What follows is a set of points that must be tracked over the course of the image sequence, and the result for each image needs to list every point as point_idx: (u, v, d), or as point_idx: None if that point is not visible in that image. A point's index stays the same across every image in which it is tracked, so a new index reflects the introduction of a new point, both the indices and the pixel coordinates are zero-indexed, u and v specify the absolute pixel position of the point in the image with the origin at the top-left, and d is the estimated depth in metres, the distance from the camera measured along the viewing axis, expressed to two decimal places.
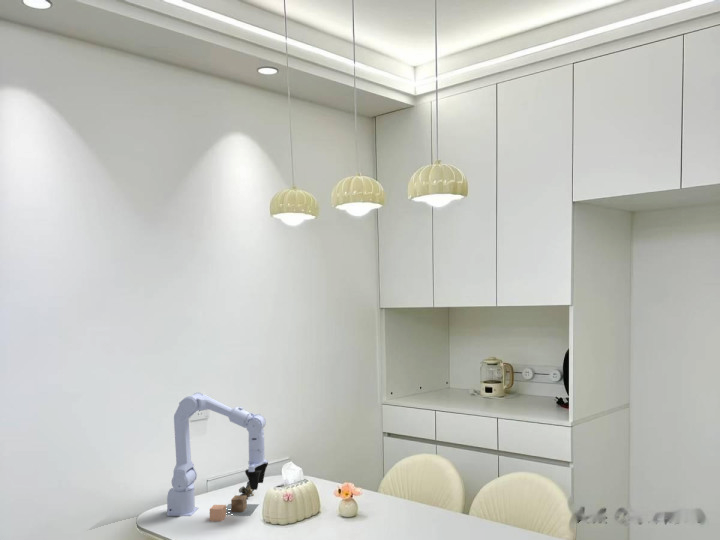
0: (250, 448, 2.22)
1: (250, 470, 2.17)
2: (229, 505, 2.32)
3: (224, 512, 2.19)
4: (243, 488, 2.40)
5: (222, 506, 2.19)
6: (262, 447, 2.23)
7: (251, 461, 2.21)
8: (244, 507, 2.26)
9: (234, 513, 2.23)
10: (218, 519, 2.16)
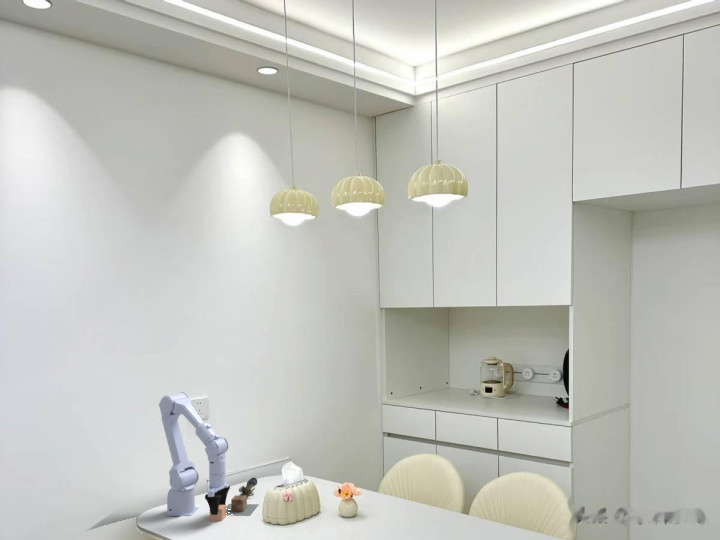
0: (209, 471, 2.18)
1: (209, 495, 2.12)
2: (229, 505, 2.32)
3: (224, 513, 2.19)
4: (243, 488, 2.41)
5: (222, 506, 2.19)
6: (220, 471, 2.17)
7: (211, 485, 2.17)
8: (244, 507, 2.26)
9: (234, 513, 2.23)
10: (218, 519, 2.16)
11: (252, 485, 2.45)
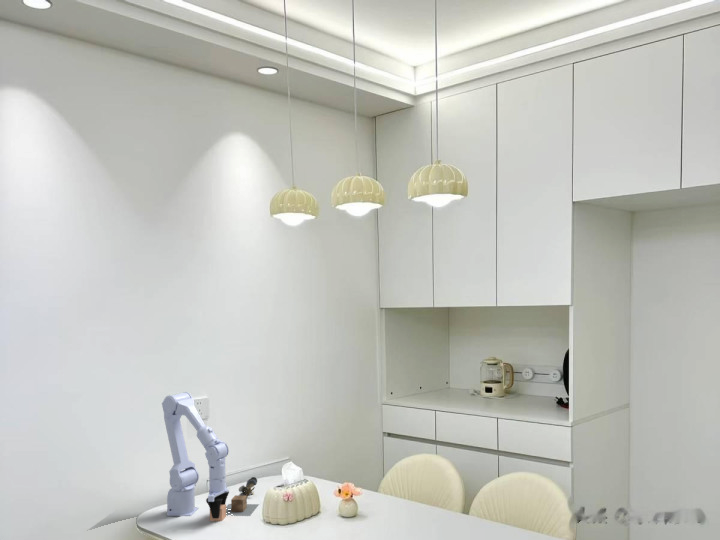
0: (209, 476, 2.18)
1: (209, 500, 2.12)
2: (229, 505, 2.32)
3: (224, 512, 2.19)
4: (243, 487, 2.41)
5: (222, 506, 2.19)
6: (220, 476, 2.17)
7: (211, 490, 2.17)
8: (244, 507, 2.26)
9: (234, 513, 2.23)
10: (218, 519, 2.16)
11: (252, 484, 2.46)
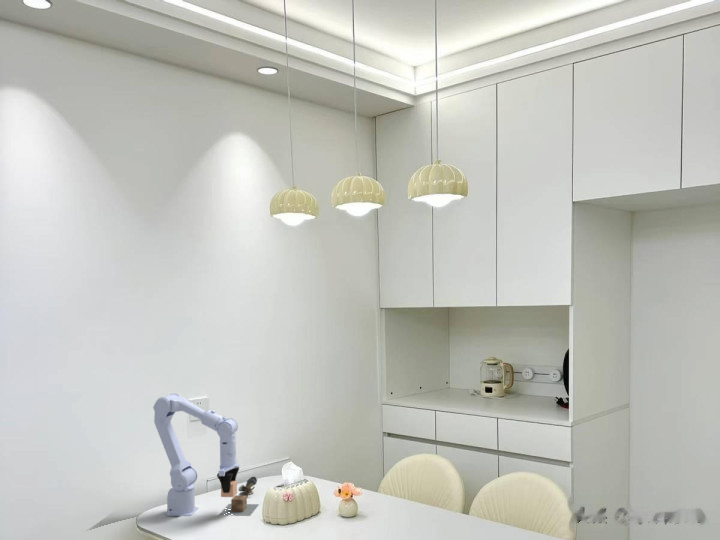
0: (221, 452, 2.22)
1: (220, 474, 2.16)
2: (229, 505, 2.32)
3: (235, 488, 2.23)
4: (243, 487, 2.42)
5: (233, 482, 2.24)
6: (233, 451, 2.22)
7: (222, 465, 2.21)
8: (244, 507, 2.26)
9: (234, 513, 2.23)
10: (229, 494, 2.21)
11: (252, 484, 2.47)
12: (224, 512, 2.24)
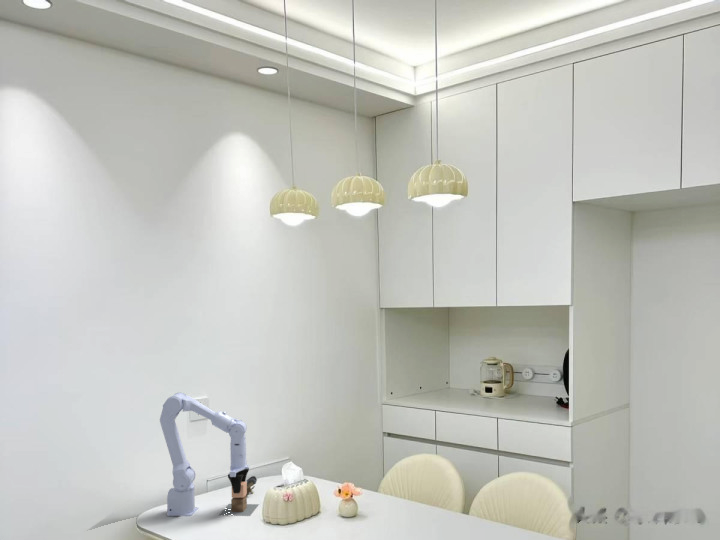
0: (232, 454, 2.25)
1: (231, 475, 2.20)
2: (229, 505, 2.32)
3: (245, 489, 2.28)
4: None
5: (243, 482, 2.28)
6: (244, 452, 2.27)
7: (233, 466, 2.25)
8: (244, 507, 2.26)
9: (234, 513, 2.23)
10: (240, 495, 2.25)
11: (252, 484, 2.47)
12: (224, 512, 2.24)
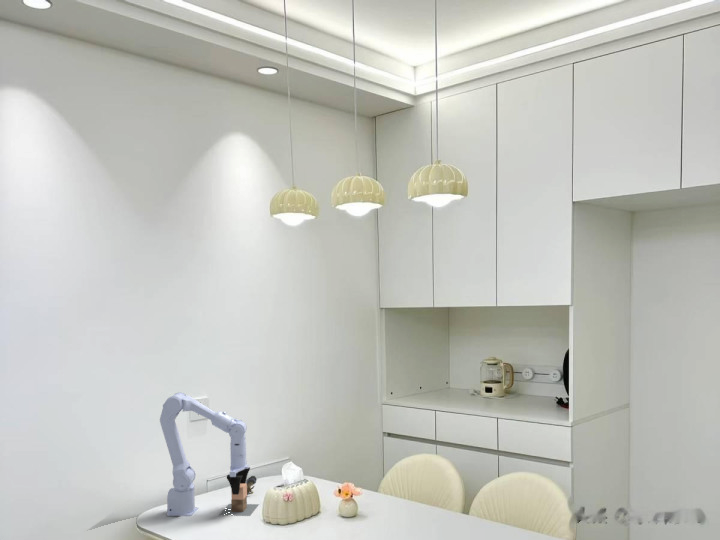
0: (232, 454, 2.25)
1: (231, 475, 2.20)
2: (229, 505, 2.32)
3: (245, 491, 2.28)
4: None
5: (243, 484, 2.28)
6: (244, 452, 2.27)
7: (233, 466, 2.25)
8: (244, 507, 2.26)
9: (234, 513, 2.23)
10: (239, 497, 2.25)
11: (251, 483, 2.48)
12: (224, 512, 2.24)
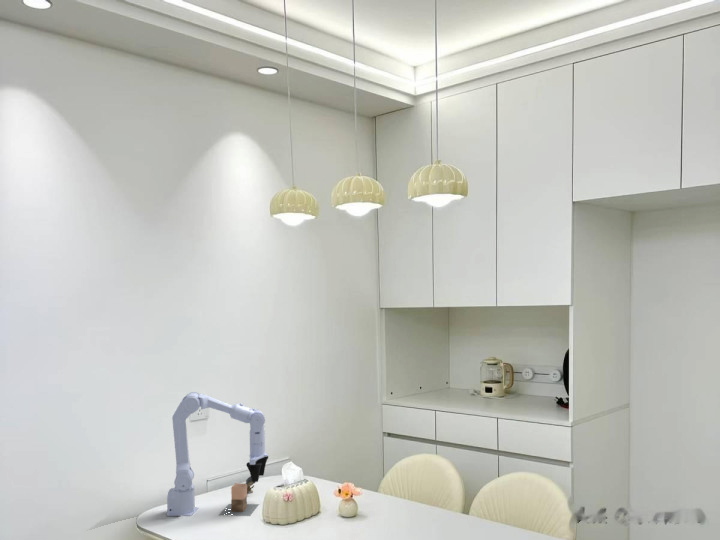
0: (253, 442, 2.30)
1: (251, 463, 2.25)
2: (229, 505, 2.32)
3: (245, 491, 2.28)
4: None
5: (243, 484, 2.28)
6: (264, 440, 2.32)
7: (252, 454, 2.30)
8: (244, 507, 2.26)
9: (234, 513, 2.23)
10: (239, 497, 2.25)
11: (251, 483, 2.48)
12: (224, 512, 2.24)
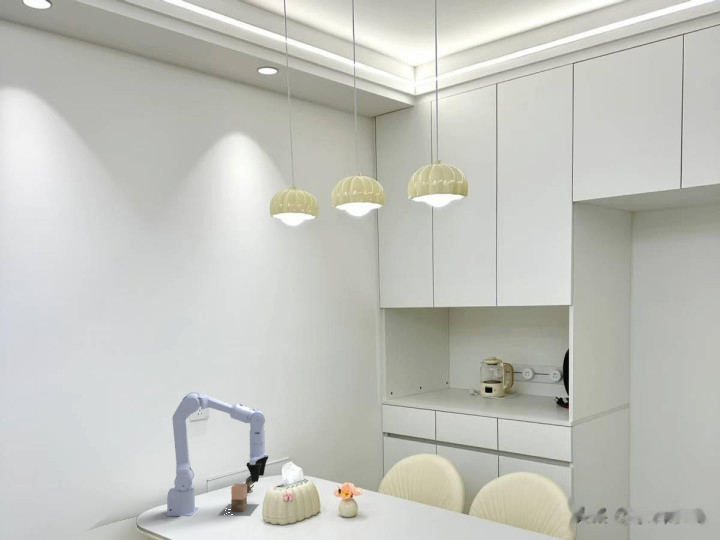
0: (253, 442, 2.30)
1: (251, 463, 2.25)
2: (229, 505, 2.32)
3: (245, 491, 2.28)
4: None
5: (243, 484, 2.28)
6: (264, 440, 2.32)
7: (252, 454, 2.30)
8: (244, 507, 2.26)
9: (234, 513, 2.23)
10: (239, 497, 2.25)
11: (251, 482, 2.49)
12: (224, 512, 2.24)
